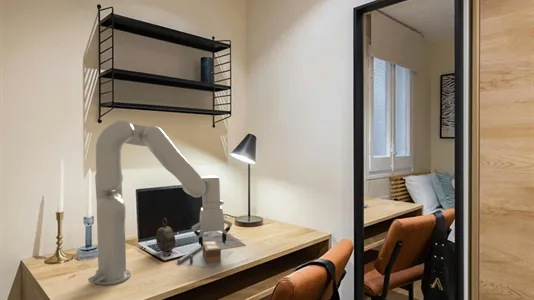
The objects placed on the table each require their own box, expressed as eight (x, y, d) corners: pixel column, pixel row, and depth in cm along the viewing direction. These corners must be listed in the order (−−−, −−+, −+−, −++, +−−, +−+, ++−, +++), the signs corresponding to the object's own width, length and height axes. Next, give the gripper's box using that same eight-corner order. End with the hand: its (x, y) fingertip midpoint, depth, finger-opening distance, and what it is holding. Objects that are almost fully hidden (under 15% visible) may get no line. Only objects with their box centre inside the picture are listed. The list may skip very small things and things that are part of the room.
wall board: (214, 271, 133) (213, 260, 133) (174, 266, 138) (174, 256, 138) (233, 254, 152) (233, 245, 152) (197, 250, 158) (197, 241, 157)
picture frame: (199, 242, 173) (212, 255, 154) (199, 237, 173) (212, 249, 154) (229, 237, 181) (245, 249, 162) (229, 233, 181) (245, 244, 161)
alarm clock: (176, 254, 153) (175, 219, 152) (165, 257, 149) (164, 221, 148) (164, 248, 160) (164, 215, 160) (153, 251, 157) (153, 217, 156)
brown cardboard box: (220, 262, 140) (220, 248, 140) (206, 263, 138) (206, 250, 138) (215, 252, 151) (215, 240, 151) (202, 254, 149) (202, 241, 149)
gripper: (229, 201, 150) (230, 239, 151) (190, 205, 145) (191, 244, 145) (233, 204, 143) (234, 244, 144) (191, 208, 138) (193, 249, 138)
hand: (212, 244), depth 145 cm, fingers open, 9 cm apart
